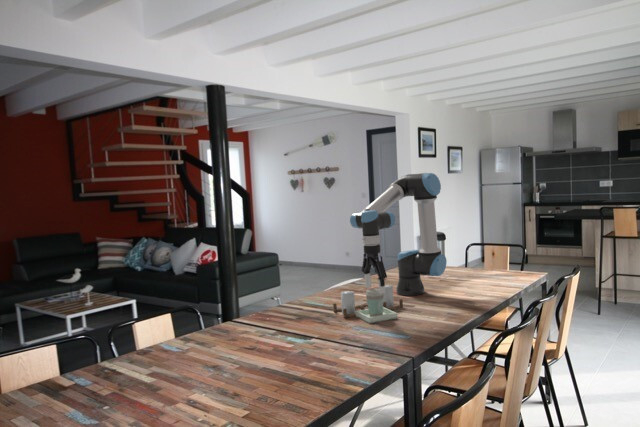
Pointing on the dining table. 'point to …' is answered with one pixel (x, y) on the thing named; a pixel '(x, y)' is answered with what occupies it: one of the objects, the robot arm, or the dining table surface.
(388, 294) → the white rounded block
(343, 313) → the rack
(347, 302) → the white rounded capsule
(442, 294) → the dining table surface
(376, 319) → the tray
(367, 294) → the coffee cup
